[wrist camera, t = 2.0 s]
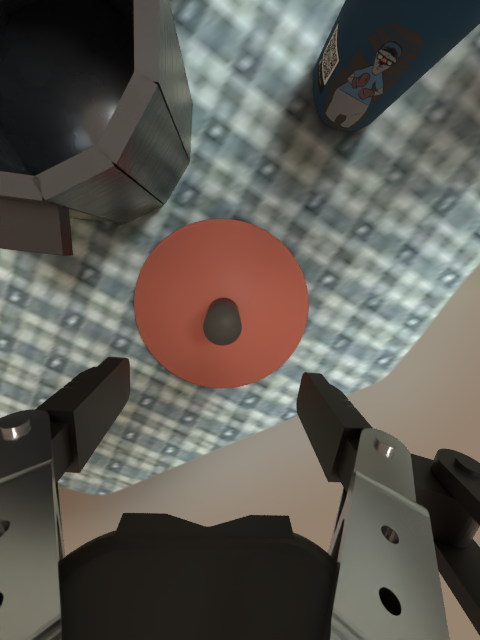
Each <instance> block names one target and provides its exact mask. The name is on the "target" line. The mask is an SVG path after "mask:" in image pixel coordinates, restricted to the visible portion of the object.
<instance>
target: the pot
mask: <svg viewBox="0 0 480 640" xmlns="http://www.w3.org/2000/svg"><path fill="white" fill-rule="evenodd" d="M192 106H193V104H192V99H191V95H190V90H189V86H188V81H187V77H186V73H185V68H184V64H183V59H182V55H181V51H180V46H179V42H178V37H177V33H176V29H175V24H174V20H173V15H172V11H171V7H170V2H169V0H0V248H2V249H11V250H20V251H28V252H37V253H46V254H55V255H73V251H72V239H71V228H70V217H72V218H77V219H85V220H93V221H101V222H109V223H116V224H125V223H127V222H129V221H131V220H133V219H135V218H138V217H140V216H142V215H144V214H146V213H148V212H150V211H152V210H154V209H156V208H158V207H161V206H163V203H164V204H165V203H166V201H167V199H168V198H169V196H170V194H171V193H172V191H173V189H174V188H175V186H176V184H177V183H178V181H179V179H180V178H181V176H182V174H183V173H184V171H185V169H186V168H187V166H188V164H189V161H190V149H191V128H192ZM162 202H163V203H162Z"/></svg>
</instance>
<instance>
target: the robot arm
mask: <svg viewBox="0 0 480 640" xmlns="http://www.w3.org/2000/svg"><path fill="white" fill-rule="evenodd" d="M129 394H130V364H129V359H128V358H119V357H108V358H107V359H105V360H104V361H103V362H102V363H101V364H100V365H98V366H97V367H92V368H90V369H88V370H86V371H84V372H81V373H80V374H79V375H77V376H76V377H75V378H74V379H72V381H71V382H69V383H67V384H66V385H65V386H64V388H61V389H60V390H59V391H58V392H56V393H55V394H54V395H53V396H51V397H50V398H49V399H48V400H46V401H45V402H44V403H43V404H41V405H40V406H39V407H38V408H37V409H35V410H25V411H20V412H16V413H13V414H10V415H7V416H5V417H2V418H0V640H449V633H448V626H447V620H446V614H445V608H444V602H443V596H442V589H441V583H440V577H439V572H440V574H441V575H442V577H443V578H444V580H445V581H446V583H447V585H448V586H449V588H450V589H451V591H452V593H453V594H454V596H455V597H456V599H457V600H458V602H459V604H460V605H461V607H462V608H463V610H464V611H465V613H466V615H467V616H468V618H469V619H470V621H471V622H472V624H473V626H474V627H475V629H476V630H477V632H478V634H479V635H480V547H479V546H478V545H477V543H476V542H475V541H474V540H473V537H474V535H475V533H476V531H477V530H478V528H479V526H480V463H479V462H477V461H476V460H474V459H472V458H471V457H469V456H467V455H464V454H462V453H460V452H457V451H454V450H450V449H440V450H438V451H437V454H436V456H435V458H434V460H431V459H428V458H424V457H421V456H417V455H414V454H411V453H410V452H409V450H408V449H407V447H406V446H405V445H404V444H403V443H402V442H401V441H399V440H398V439H397V438H395V437H394V436H392V435H390V434H388V433H386V432H384V431H381V430H378V429H374V428H372V427H371V426H370V424H369V423H368V422H367V421H366V420H365V418H364V417H363V416H362V415H361V414H360V413H359V411H358V410H357V409H356V408H354V406H353V404H352V403H351V402H350V401H348V399H347V397H346V396H345V395H344V394H343V393H342V392H341V391H340V390H339V389H337V388H336V387H334V386H333V385H330V384H329V383H328V381H327V380H326V379H325V378H324V376H323V375H322V374H320V373H307V372H305V373H304V374H303V376H302V379H301V384H300V388H299V393H298V398H297V413H298V416H299V418H300V420H301V423H302V424H303V427H304V429H305V431H306V433H307V436H308V438H309V440H310V442H311V445H312V447H313V449H314V451H315V454H316V456H317V458H318V460H319V462H320V465H321V467H322V469H323V471H324V473H325V476H326V478H327V480H328V482H341V483H342V485H343V487H344V488H343V491H342V494H341V498H340V502H339V507H338V512H337V516H336V520H335V525H334V529H333V534H332V538H331V542H330V546H329V550H328V553H327V552H326V551H324V550H323V549H322V548H321V547H319V546H318V545H316V544H315V543H314V542H312V541H310V540H308V539H307V538H305V537H303V536H301V535H299V534H296V533H293V531H292V527H291V523H290V519H289V516H271V515H270V516H268V515H267V516H266V515H249V516H246V517H242V518H239V519H235V520H232V521H229V522H225V523H222V524H218V525H215V526H211V527H205V526H202V525H199V524H196V523H192V522H189V521H187V520H183V519H181V518H177V517H174V516H171V515H168V514H152V513H151V514H150V513H123V515H122V518H121V520H120V523H119V525H118V528H117V530H116V531H112V532H109V533H107V534H104V535H102V536H99V537H97V538H95V539H93V540H91V541H89V542H87V543H85V544H84V545H82V546H80V547H79V548H77V549H76V550H74V551H73V552H71V553H70V554H69V555H67V556H66V557H65V550H64V540H63V529H62V518H61V506H60V495H59V485H58V481H59V479H60V478H61V477H62V475H63V474H64V473H65V472H73V473H80V472H81V470H82V469H83V467H84V466H85V464H86V463H87V461H88V460H89V458H90V457H91V455H92V454H93V452H94V451H95V449H96V448H97V446H98V445H99V443H100V442H101V440H102V439H103V437H104V436H105V434H106V433H107V431H108V430H109V428H110V427H111V425H112V424H113V422H114V421H115V420H116V418H117V417H118V415H119V414H120V412H121V411H122V409H123V408H124V406H125V405H126V403H127V401H128V398H129ZM438 570H439V571H438Z"/></svg>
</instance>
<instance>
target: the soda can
mask: <svg viewBox="0 0 480 640" xmlns="http://www.w3.org/2000/svg"><path fill="white" fill-rule="evenodd" d="M479 24H480V0H346V1H345V3H344V5H343V7H342V9H341V11H340V13H339V16H338V18H337V20H336V22H335V24H334V26H333V28H332V30H331V33H330V35H329V37H328V39H327V41H326V43H325V45H324V47H323V50H322V52H321V54H320V56H319V58H318V61H317V63H316V67H315V71H314V76H313V97H314V102H315V105H316V108H317V111H318V113H319V115H320V117H321V118H322V120H323V121H324V122H325V123H326V124H327V125H328V126H330V127H332V128H334V129H336V130H340V131H355V130H359V129H361V128H364V127H365V126H367V125H369V124H370V123H371V122H373V121H374V120H375V119H376V118H377V117H378V116H379V115H380V114H381V113H382V112H384V111H385V110H386V109H387V108H388V107H389V106H390V105H391V104H392V103H393V102H394V101H396V100H397V99H398V98H399V97H400V96H401V95H402V94H403V93H404V92H405V91H407V90H408V89H409V88H410V87H411V86H412V85H413V84H414V83H415V82H416V81H417V80H419V79H420V78H421V77H422V76H423V75H424V74H425V73H426V72H427V71H428V70H429V69H431V68H432V67H433V66H434V65H435V64H436V63H437V62H438V61H439V60H440V59H441V58H443V57H444V56H445V55H446V54H447V53H448V52H449V51H450V50H451V49H452V48H453V47H455V46H456V45H457V44H458V43H459V42H460V41H461V40H462V39H463V38H464V37H465V36H467V35H468V34H469V33H470V32H471V31H472V30H473V29H474V28H475V27H476V26H477V25H479Z"/></svg>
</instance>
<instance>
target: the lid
mask: <svg viewBox="0 0 480 640" xmlns="http://www.w3.org/2000/svg"><path fill="white" fill-rule="evenodd" d="M308 306H309V299H308V291H307V286H306V282H305V278H304V276H303V273H302V271H301V269H300V266H299V265H298V263H297V261H296V260H295V258H294V256H293V255H292V254H291V253H290V251H289V250H288V249H287V248H286V247H285V246H284V245H283V244H282V243H281V242H280V241H279V240H278V239H277V238H275V237H274V236H273V235H271V234H270V233H268V232H267V231H265V230H263V229H261V228H259V227H257V226H255V225H252V224H249V223H246V222H243V221H238V220H233V219H209V220H203V221H199V222H195V223H192V224H189V225H187V226H184V227H182V228H180V229H179V230H177V231H175V232H173V233H172V234H170V235H169V236H168V237H166V238H165V239H164V240H162V241H161V242H160V243H159V244H158V246H157V247H156V248H155V249H154V250H153V251H152V252H151V254H150V255H149V257H148V258H147V259H146V261H145V263H144V265H143V267H142V269H141V271H140V274H139V277H138V280H137V284H136V289H135V298H134V308H135V317H136V321H137V326H138V329H139V331H140V334H141V337H142V339H143V341H144V343H145V344H146V346H147V348H148V349H149V351H150V352H151V353H152V355H153V356H154V357H155V358H156V359H157V360H158V362H159V363H160V364H161V365H163V366H164V367H165V368H166V369H167V370H169V371H170V372H172V373H173V374H175V375H176V376H178V377H180V378H182V379H184V380H186V381H188V382H191V383H193V384H196V385H200V386H204V387H211V388H233V387H240V386H244V385H248V384H251V383H254V382H256V381H258V380H261V379H263V378H265V377H266V376H268V375H270V374H271V373H273V372H274V371H275V370H277V369H278V368H279V367H280V366H282V365H283V363H284V362H285V361H286V360H287V359H288V358H289V357H290V356H291V354H292V353H293V352H294V350H295V349H296V347H297V345H298V344H299V342H300V340H301V338H302V335H303V333H304V330H305V326H306V323H307V317H308Z"/></svg>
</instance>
